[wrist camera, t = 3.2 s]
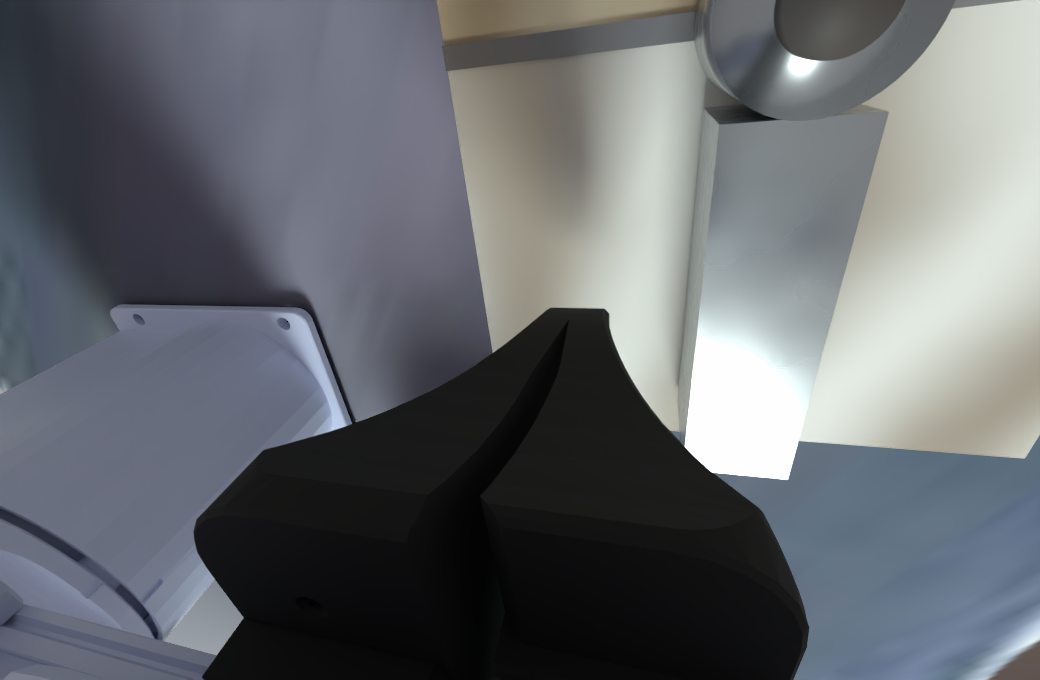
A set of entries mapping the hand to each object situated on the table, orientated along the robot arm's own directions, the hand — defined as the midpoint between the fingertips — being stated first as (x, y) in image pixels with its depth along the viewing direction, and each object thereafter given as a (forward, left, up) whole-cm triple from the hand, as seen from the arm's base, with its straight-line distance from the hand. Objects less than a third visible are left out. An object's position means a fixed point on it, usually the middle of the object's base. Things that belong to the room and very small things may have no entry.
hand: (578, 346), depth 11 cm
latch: (+4, +2, -3) cm, 5 cm away
